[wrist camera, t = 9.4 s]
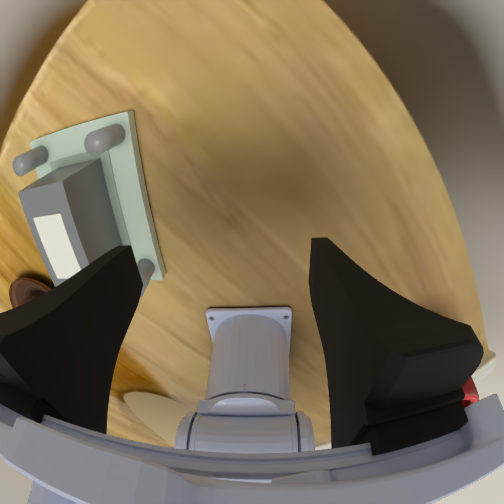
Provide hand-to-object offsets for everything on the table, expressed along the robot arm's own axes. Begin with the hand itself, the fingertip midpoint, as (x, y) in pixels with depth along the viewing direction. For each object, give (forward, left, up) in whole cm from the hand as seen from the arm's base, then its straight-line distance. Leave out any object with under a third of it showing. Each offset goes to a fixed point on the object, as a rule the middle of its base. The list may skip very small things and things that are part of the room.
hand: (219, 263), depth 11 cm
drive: (-1, +12, -9) cm, 15 cm away
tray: (-1, +12, -10) cm, 16 cm away
